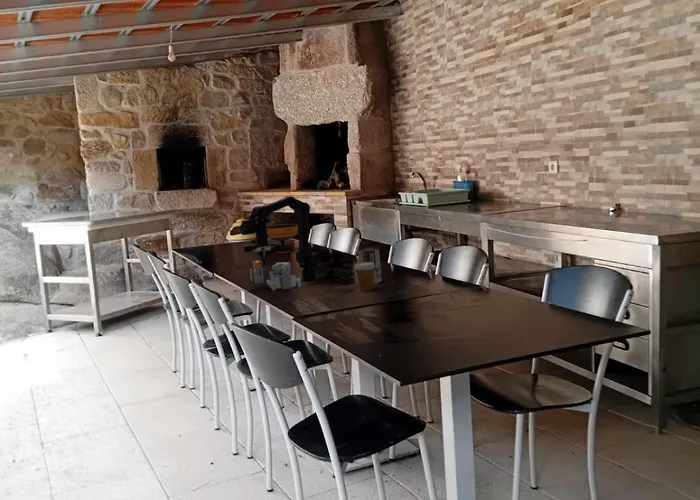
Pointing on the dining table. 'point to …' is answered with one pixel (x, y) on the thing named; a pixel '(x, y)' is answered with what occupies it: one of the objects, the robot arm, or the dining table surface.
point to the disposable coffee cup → (365, 275)
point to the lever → (256, 266)
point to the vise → (261, 280)
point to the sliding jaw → (285, 280)
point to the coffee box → (373, 257)
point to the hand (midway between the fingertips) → (264, 264)
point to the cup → (282, 234)
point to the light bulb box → (280, 268)
